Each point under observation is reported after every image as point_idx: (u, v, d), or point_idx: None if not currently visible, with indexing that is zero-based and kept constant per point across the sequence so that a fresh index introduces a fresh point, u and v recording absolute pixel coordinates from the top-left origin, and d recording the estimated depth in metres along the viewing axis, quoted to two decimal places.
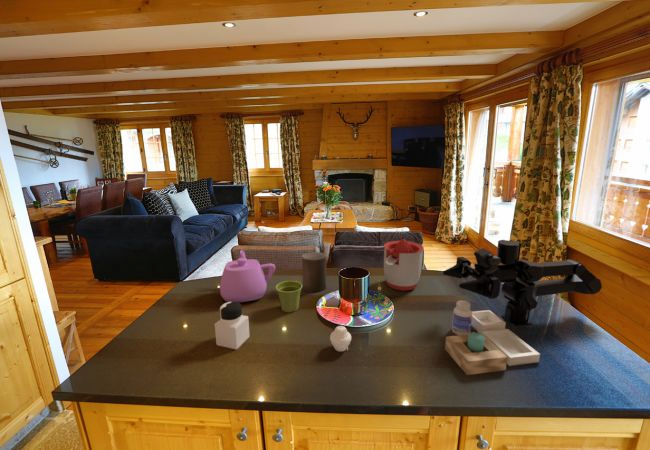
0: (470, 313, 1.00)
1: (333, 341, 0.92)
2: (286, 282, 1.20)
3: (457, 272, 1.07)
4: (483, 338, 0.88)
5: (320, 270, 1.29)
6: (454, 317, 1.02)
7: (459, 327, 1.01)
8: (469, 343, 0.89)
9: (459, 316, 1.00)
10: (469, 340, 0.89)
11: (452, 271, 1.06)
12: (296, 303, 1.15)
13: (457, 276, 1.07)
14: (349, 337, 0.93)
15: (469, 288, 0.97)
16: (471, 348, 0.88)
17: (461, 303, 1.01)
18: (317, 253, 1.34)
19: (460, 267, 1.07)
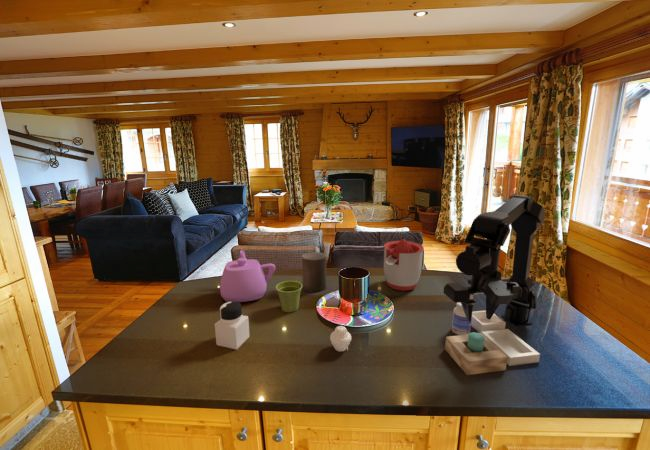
0: None
1: (333, 341, 0.92)
2: (286, 282, 1.20)
3: None
4: (483, 338, 0.88)
5: (320, 270, 1.29)
6: (454, 317, 1.02)
7: (459, 327, 1.01)
8: (469, 343, 0.89)
9: (459, 316, 1.00)
10: (469, 340, 0.89)
11: None
12: (296, 303, 1.15)
13: None
14: (349, 337, 0.93)
15: None
16: (471, 348, 0.88)
17: None
18: (317, 253, 1.34)
19: None
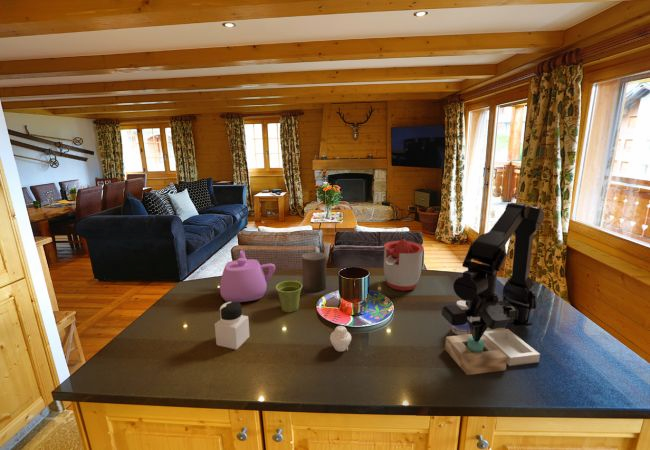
0: None
1: (333, 341, 0.92)
2: (286, 282, 1.20)
3: None
4: (482, 342, 0.88)
5: (320, 270, 1.29)
6: None
7: (459, 327, 1.01)
8: (468, 347, 0.89)
9: None
10: (468, 344, 0.89)
11: None
12: (296, 303, 1.15)
13: None
14: (349, 337, 0.93)
15: None
16: None
17: (461, 303, 1.01)
18: (317, 253, 1.34)
19: None
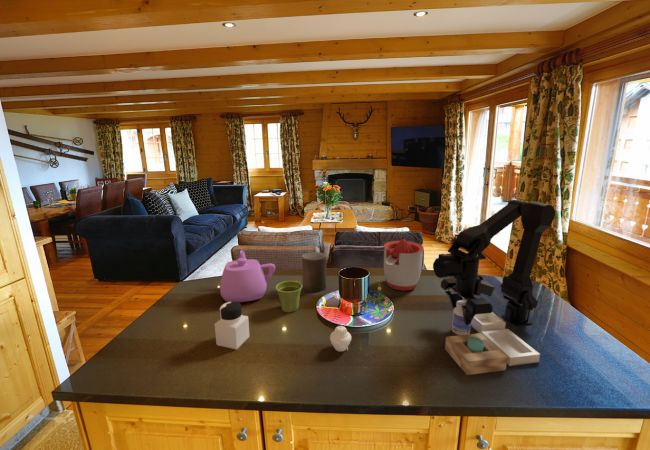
0: None
1: (333, 341, 0.92)
2: (286, 282, 1.20)
3: None
4: (482, 343, 0.88)
5: (320, 270, 1.29)
6: (454, 317, 1.02)
7: (459, 327, 1.01)
8: (468, 348, 0.89)
9: (459, 316, 1.00)
10: (468, 345, 0.89)
11: None
12: (296, 303, 1.15)
13: None
14: (349, 337, 0.93)
15: None
16: None
17: (461, 303, 1.01)
18: (317, 253, 1.34)
19: None
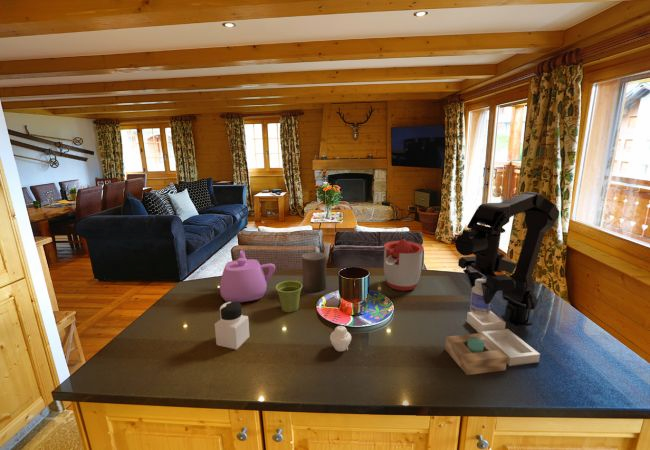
0: None
1: (333, 341, 0.92)
2: (286, 282, 1.20)
3: None
4: (482, 343, 0.88)
5: (320, 270, 1.29)
6: (473, 296, 0.96)
7: (478, 306, 0.95)
8: (468, 348, 0.89)
9: (478, 295, 0.95)
10: (468, 345, 0.89)
11: None
12: (296, 303, 1.15)
13: None
14: (349, 337, 0.93)
15: None
16: None
17: (480, 281, 0.96)
18: (317, 253, 1.34)
19: None
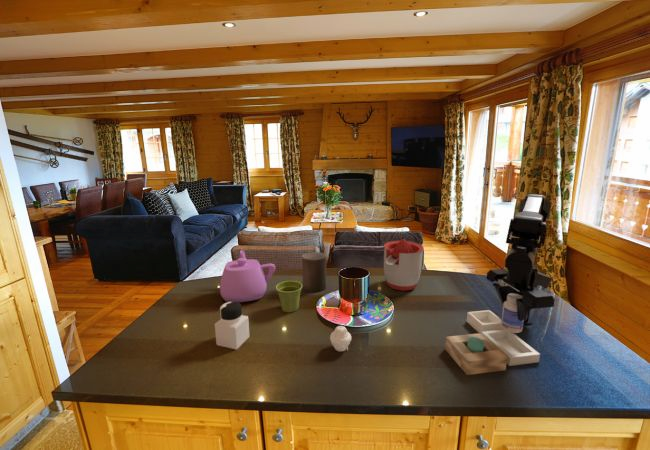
0: None
1: (333, 341, 0.92)
2: (286, 282, 1.20)
3: None
4: (482, 343, 0.88)
5: (320, 270, 1.29)
6: (505, 312, 0.91)
7: (511, 323, 0.90)
8: (468, 348, 0.89)
9: (511, 311, 0.89)
10: (468, 345, 0.89)
11: None
12: (296, 303, 1.15)
13: None
14: (349, 337, 0.93)
15: None
16: None
17: (513, 296, 0.90)
18: (317, 253, 1.34)
19: None
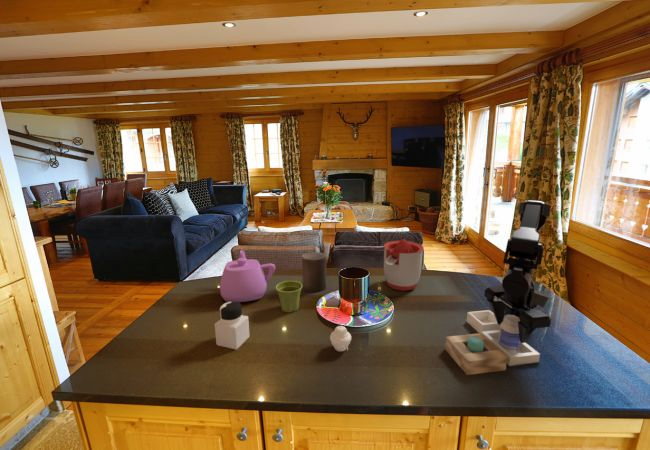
0: None
1: (333, 341, 0.92)
2: (286, 282, 1.20)
3: None
4: (482, 343, 0.88)
5: (320, 270, 1.29)
6: (502, 333, 0.92)
7: (508, 344, 0.91)
8: (468, 348, 0.89)
9: (508, 333, 0.91)
10: (468, 345, 0.89)
11: None
12: (296, 303, 1.15)
13: None
14: (349, 337, 0.93)
15: None
16: None
17: (510, 317, 0.92)
18: (317, 253, 1.34)
19: None
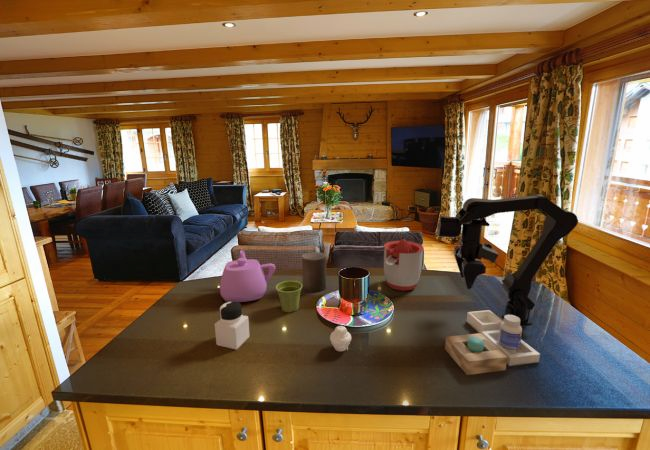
0: (520, 329, 0.91)
1: (333, 341, 0.92)
2: (286, 282, 1.20)
3: None
4: (482, 343, 0.88)
5: (320, 270, 1.29)
6: (501, 333, 0.92)
7: (508, 344, 0.91)
8: (468, 348, 0.89)
9: (508, 333, 0.91)
10: (468, 345, 0.89)
11: None
12: (296, 303, 1.15)
13: None
14: (349, 337, 0.93)
15: None
16: None
17: (510, 317, 0.92)
18: (317, 253, 1.34)
19: None
